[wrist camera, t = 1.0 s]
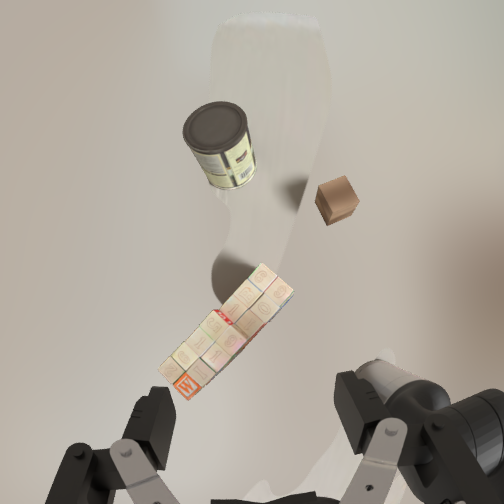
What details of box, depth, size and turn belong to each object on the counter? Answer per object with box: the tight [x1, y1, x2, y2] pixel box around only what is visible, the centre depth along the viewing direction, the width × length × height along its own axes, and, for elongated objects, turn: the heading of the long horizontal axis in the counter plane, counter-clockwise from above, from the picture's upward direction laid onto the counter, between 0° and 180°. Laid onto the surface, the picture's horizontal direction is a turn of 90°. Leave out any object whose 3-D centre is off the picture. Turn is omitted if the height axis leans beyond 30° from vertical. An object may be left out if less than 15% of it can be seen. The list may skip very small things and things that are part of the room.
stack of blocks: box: [158, 263, 294, 400], centre depth 42 cm, size 21×6×12 cm, turn 137°
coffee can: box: [183, 101, 257, 190], centre depth 47 cm, size 10×10×14 cm
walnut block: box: [315, 176, 359, 226], centre depth 47 cm, size 5×5×7 cm
